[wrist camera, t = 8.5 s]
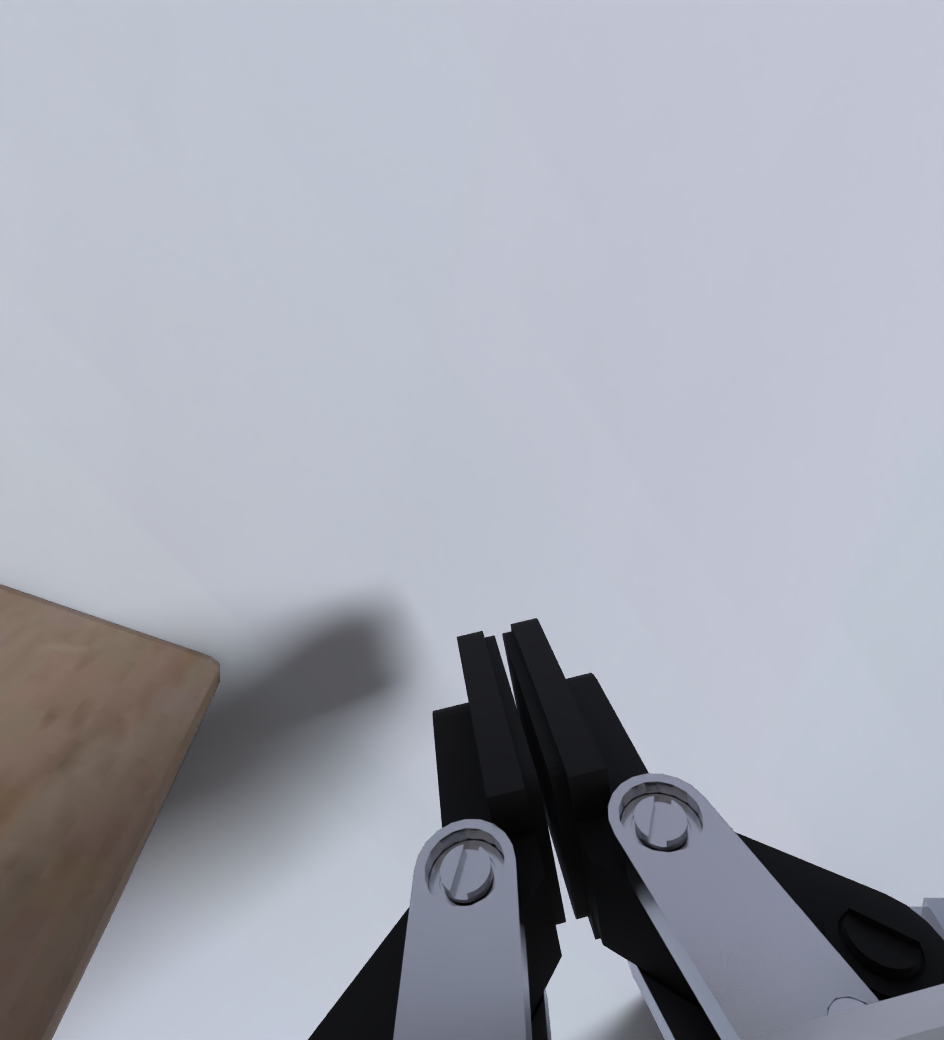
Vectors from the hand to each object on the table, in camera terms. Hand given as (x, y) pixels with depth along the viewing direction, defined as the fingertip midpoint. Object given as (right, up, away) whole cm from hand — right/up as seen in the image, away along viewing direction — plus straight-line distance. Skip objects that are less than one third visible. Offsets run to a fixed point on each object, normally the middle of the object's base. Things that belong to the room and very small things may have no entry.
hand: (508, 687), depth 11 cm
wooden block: (-14, -2, +4) cm, 15 cm away
